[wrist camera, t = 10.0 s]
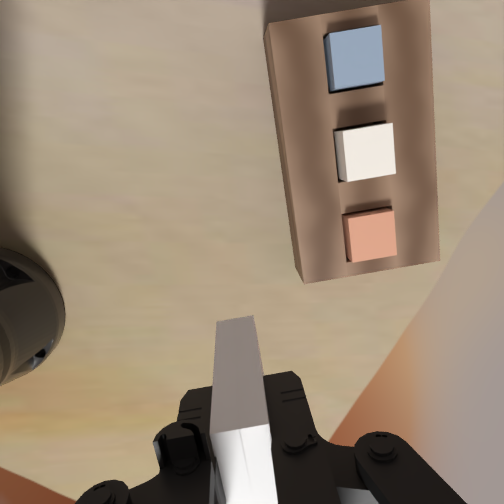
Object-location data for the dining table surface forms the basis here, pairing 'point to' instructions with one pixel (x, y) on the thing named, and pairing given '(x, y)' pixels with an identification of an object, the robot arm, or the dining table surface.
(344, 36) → the slate blue key
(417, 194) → the key panel
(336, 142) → the white key
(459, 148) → the dining table surface
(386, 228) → the terracotta key
